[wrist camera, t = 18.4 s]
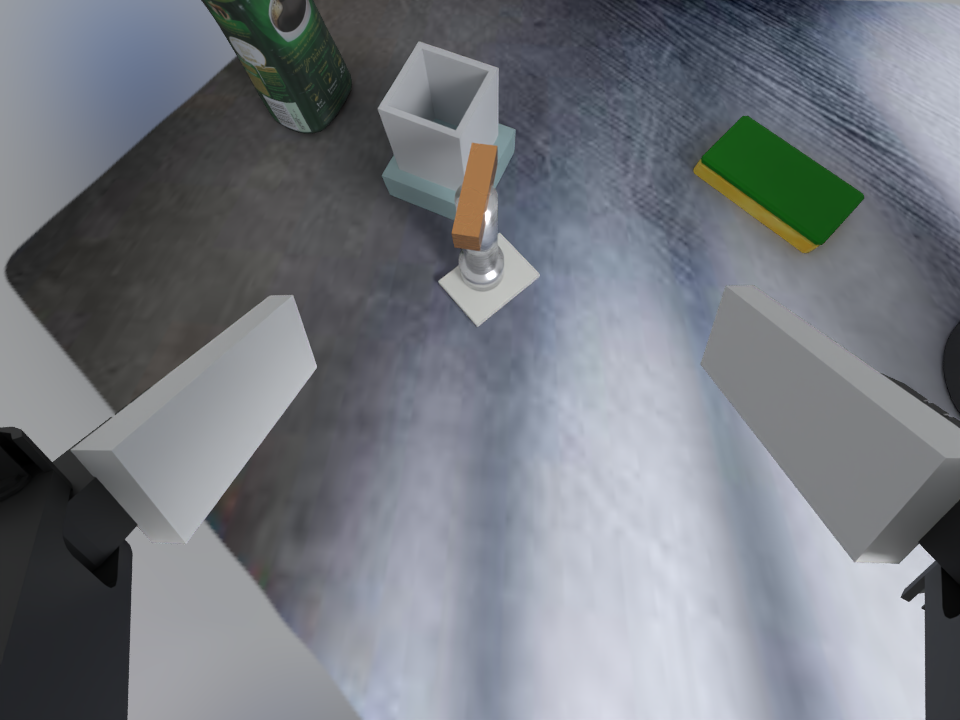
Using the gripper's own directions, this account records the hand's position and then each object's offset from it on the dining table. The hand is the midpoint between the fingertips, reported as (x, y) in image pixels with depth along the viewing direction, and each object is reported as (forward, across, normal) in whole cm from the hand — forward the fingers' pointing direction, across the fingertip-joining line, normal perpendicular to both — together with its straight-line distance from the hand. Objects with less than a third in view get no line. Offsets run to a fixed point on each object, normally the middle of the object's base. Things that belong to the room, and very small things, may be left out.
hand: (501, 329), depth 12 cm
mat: (+26, -2, -8) cm, 27 cm away
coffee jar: (+41, -22, +8) cm, 47 cm away
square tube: (+34, -6, +1) cm, 35 cm away
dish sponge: (+33, +27, -2) cm, 43 cm away
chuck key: (+26, -2, -7) cm, 27 cm away
